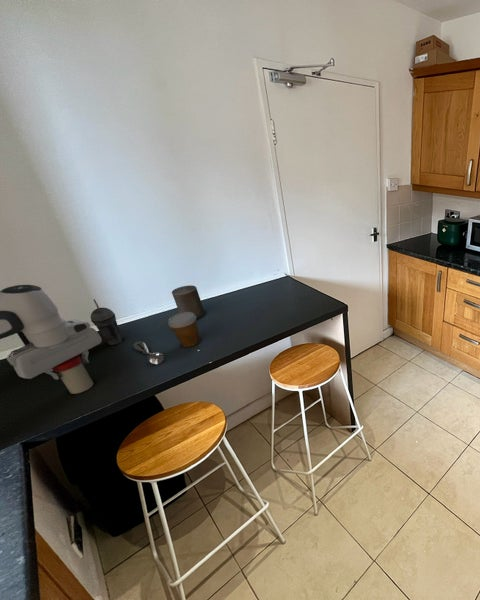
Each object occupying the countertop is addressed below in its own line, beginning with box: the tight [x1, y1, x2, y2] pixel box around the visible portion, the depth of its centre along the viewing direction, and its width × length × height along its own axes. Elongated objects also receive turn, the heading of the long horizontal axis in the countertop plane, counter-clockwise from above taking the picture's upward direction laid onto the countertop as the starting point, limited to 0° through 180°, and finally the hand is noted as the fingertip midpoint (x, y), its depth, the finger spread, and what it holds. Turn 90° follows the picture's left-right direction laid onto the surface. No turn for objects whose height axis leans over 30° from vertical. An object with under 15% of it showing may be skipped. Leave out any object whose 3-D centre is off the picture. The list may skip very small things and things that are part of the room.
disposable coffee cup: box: [167, 312, 201, 348], centre depth 125 cm, size 10×10×12 cm
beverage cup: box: [90, 299, 123, 346], centre depth 124 cm, size 7×7×20 cm
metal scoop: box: [132, 341, 164, 365], centre depth 120 cm, size 20×4×5 cm
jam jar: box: [55, 362, 95, 395], centre depth 102 cm, size 6×6×11 cm
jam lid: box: [52, 354, 82, 372], centre depth 100 cm, size 7×7×2 cm
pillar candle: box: [171, 284, 206, 320], centre depth 144 cm, size 10×10×15 cm
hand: (72, 370), depth 101 cm, fingers closed on jam jar, 6 cm apart
